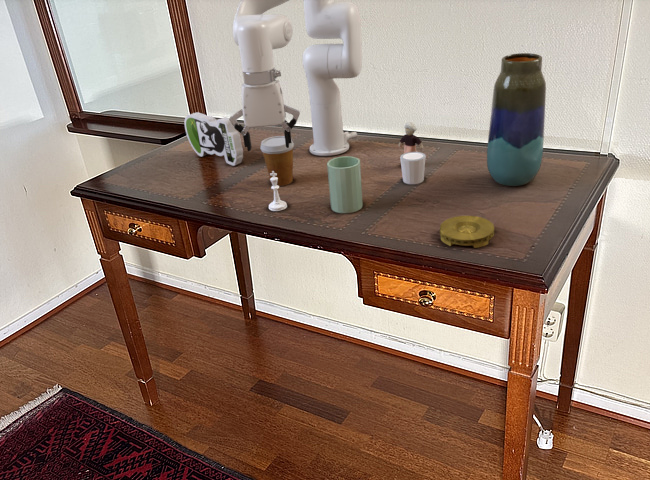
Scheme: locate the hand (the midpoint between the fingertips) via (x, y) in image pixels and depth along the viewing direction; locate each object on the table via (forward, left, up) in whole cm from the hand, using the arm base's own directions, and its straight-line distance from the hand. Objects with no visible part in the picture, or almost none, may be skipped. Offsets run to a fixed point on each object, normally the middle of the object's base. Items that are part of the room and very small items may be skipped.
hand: (268, 147), depth 158 cm
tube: (-14, +12, -16) cm, 25 cm away
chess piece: (0, 0, -16) cm, 16 cm away
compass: (-26, +44, -16) cm, 54 cm away
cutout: (-2, -47, -16) cm, 50 cm away
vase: (-56, +28, -16) cm, 65 cm away
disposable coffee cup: (-9, -15, -16) cm, 24 cm away
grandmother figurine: (-43, +1, -16) cm, 46 cm away
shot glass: (-37, +10, -16) cm, 42 cm away
